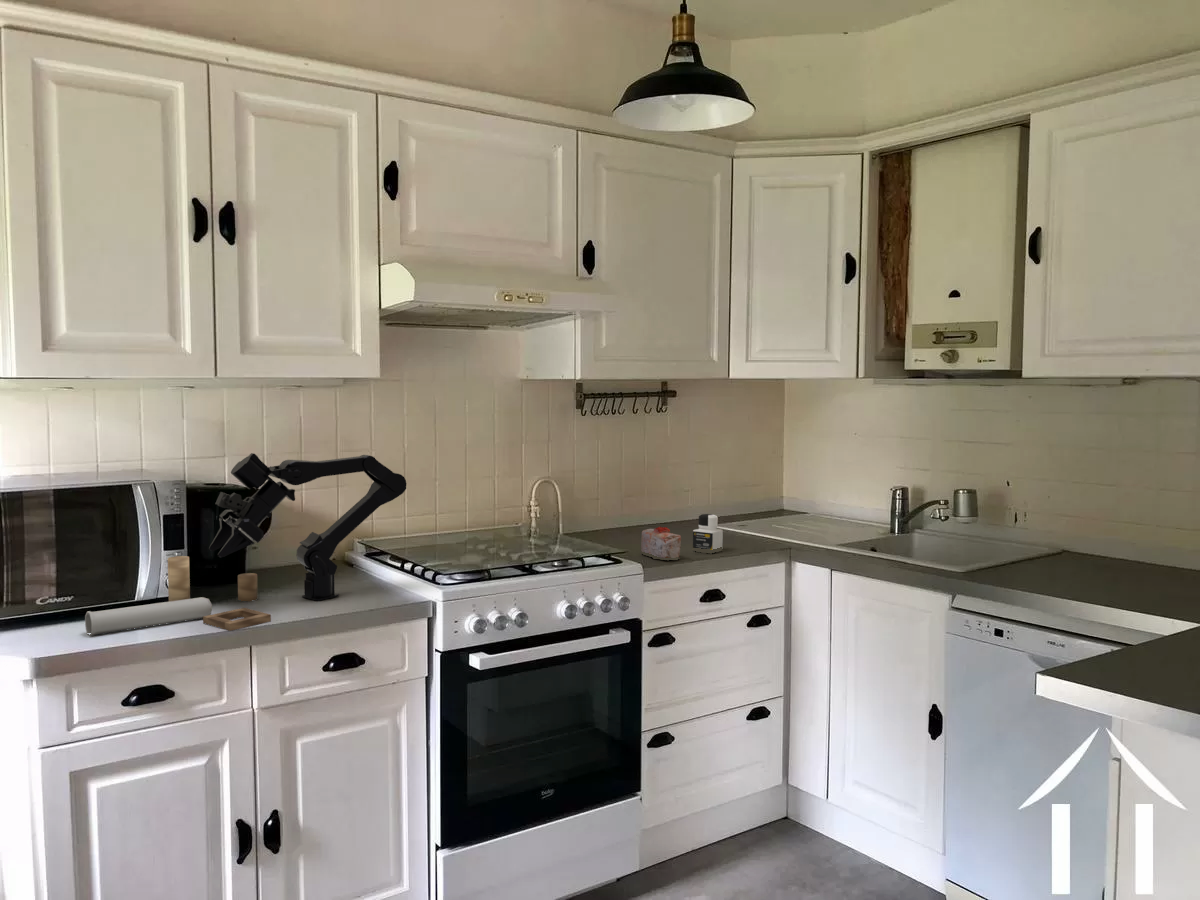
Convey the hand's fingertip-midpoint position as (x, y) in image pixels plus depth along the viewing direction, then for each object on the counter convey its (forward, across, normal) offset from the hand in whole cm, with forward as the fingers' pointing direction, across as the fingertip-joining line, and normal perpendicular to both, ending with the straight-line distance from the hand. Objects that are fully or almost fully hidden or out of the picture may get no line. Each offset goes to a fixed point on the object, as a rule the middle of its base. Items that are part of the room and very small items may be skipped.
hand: (214, 553), depth 211 cm
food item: (-81, +4, +100) cm, 129 cm away
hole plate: (+8, +14, +10) cm, 19 cm away
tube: (+20, +6, 0) cm, 21 cm away
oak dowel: (+15, 0, +4) cm, 15 cm away
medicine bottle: (-95, +3, +114) cm, 148 cm away
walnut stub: (+3, -7, +16) cm, 18 cm away
